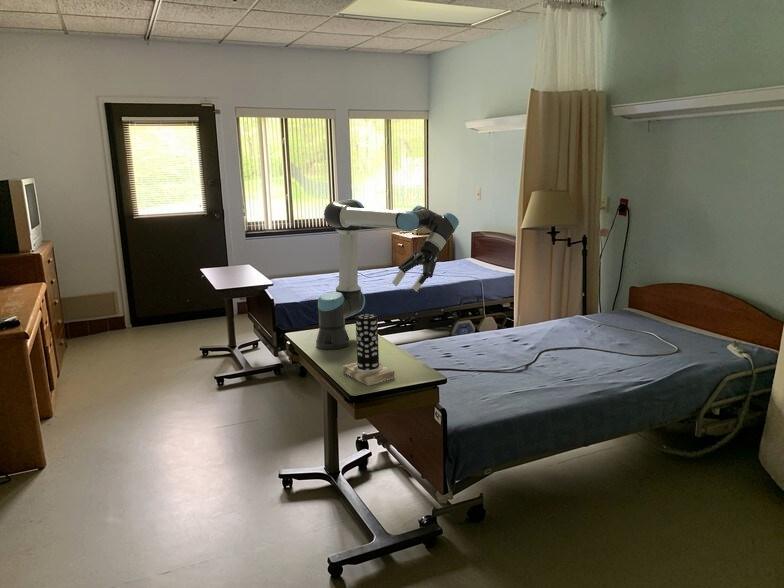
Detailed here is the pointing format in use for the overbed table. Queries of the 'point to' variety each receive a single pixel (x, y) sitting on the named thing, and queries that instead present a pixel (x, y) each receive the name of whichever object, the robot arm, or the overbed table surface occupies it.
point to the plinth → (368, 374)
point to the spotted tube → (367, 341)
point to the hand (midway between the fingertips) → (403, 287)
